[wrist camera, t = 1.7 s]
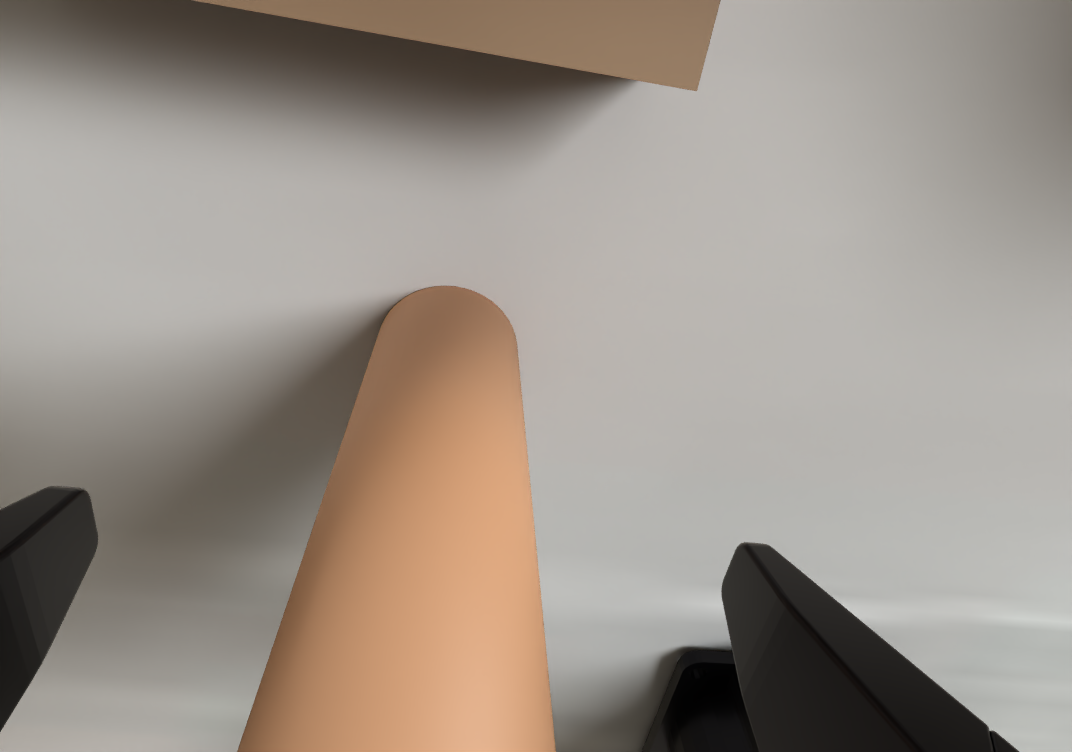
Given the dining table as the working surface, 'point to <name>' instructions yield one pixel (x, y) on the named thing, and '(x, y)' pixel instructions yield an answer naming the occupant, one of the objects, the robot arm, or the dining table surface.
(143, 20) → the dining table surface
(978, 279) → the dining table surface
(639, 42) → the hole block
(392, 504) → the peg
